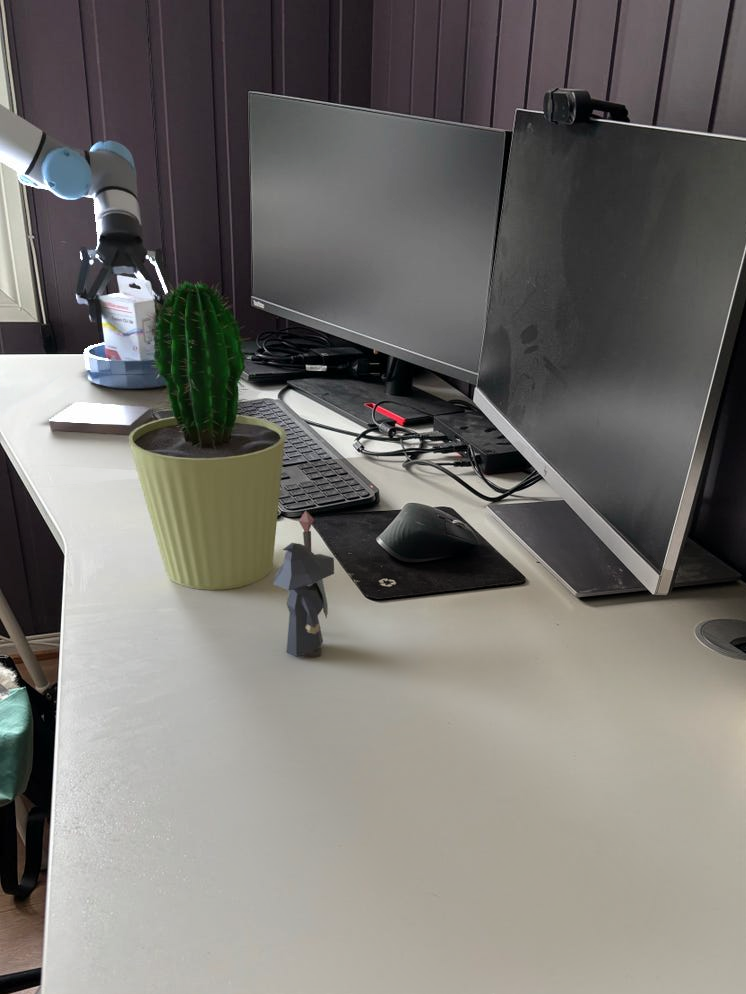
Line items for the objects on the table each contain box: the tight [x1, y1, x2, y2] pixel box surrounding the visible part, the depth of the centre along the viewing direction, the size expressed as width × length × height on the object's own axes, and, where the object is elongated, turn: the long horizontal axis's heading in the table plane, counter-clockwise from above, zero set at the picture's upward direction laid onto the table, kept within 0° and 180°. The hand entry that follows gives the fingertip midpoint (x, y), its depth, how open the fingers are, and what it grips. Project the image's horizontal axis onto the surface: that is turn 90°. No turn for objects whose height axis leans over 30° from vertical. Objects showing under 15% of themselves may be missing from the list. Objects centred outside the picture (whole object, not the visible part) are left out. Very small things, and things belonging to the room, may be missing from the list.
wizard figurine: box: [273, 510, 335, 658], centre depth 87 cm, size 8×6×12 cm
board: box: [48, 402, 154, 436], centre depth 146 cm, size 12×10×2 cm
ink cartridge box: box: [99, 274, 156, 361], centre depth 166 cm, size 9×5×15 cm, turn 62°
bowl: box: [83, 342, 166, 390], centre depth 169 cm, size 16×16×5 cm
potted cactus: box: [128, 279, 287, 591], centre depth 97 cm, size 15×15×30 cm
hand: (130, 336), depth 164 cm, fingers closed on ink cartridge box, 9 cm apart
